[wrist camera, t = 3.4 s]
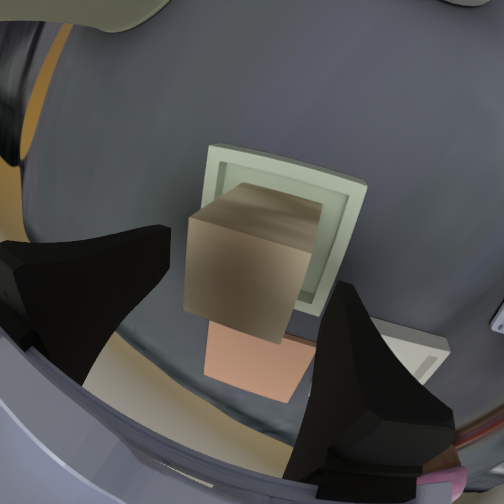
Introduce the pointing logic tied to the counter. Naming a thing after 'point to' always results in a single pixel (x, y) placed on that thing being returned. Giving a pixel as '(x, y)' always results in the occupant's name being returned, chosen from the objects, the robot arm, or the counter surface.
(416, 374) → the light grey tray
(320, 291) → the sage green tray
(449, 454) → the cupcake
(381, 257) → the counter surface
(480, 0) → the milk bottle
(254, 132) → the counter surface
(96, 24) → the can
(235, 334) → the terracotta pad
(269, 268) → the brown block
